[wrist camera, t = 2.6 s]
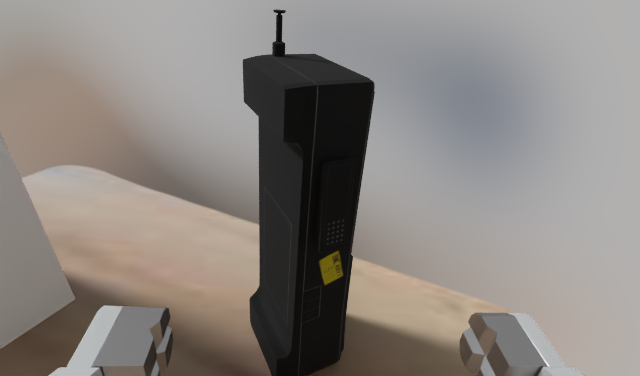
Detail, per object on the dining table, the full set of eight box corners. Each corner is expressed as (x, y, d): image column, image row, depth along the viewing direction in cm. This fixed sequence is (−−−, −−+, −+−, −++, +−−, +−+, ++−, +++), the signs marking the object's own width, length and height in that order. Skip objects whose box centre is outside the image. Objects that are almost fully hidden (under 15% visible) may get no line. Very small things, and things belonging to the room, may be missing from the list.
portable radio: (353, 369, 29) (420, 31, 17) (282, 401, 27) (299, 29, 14) (310, 299, 35) (335, 11, 22) (248, 320, 32) (239, 7, 20)
